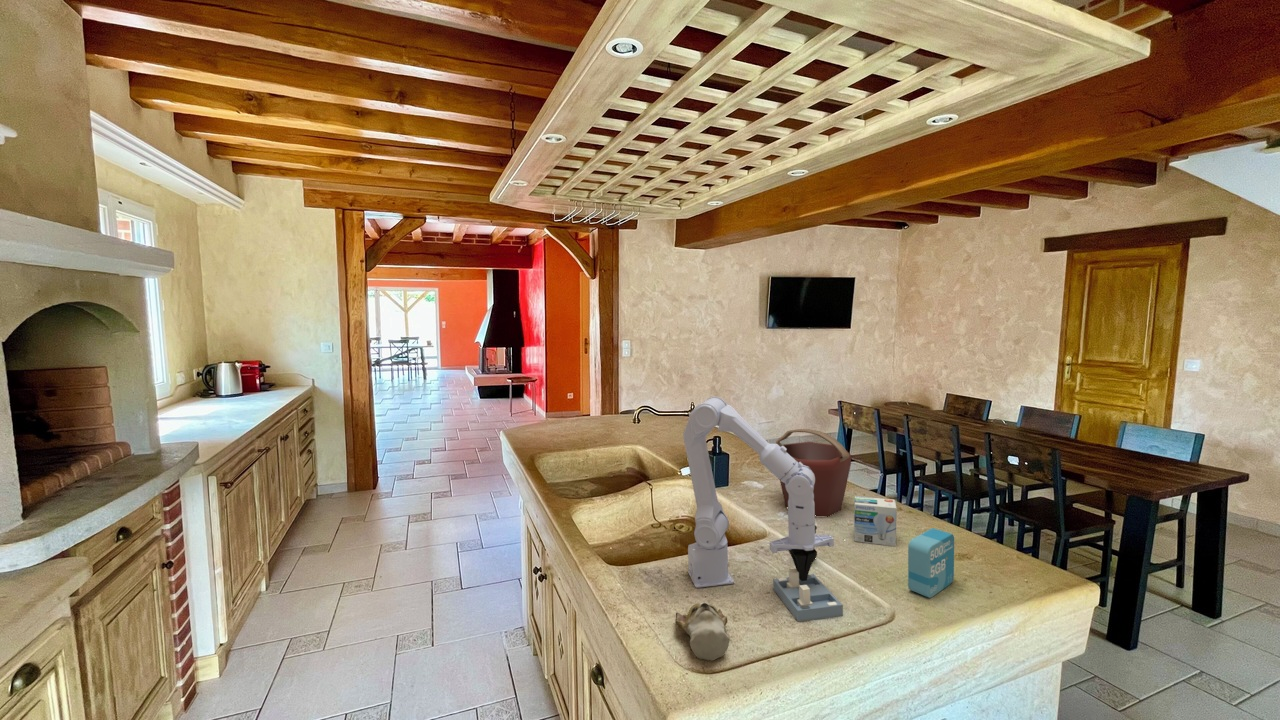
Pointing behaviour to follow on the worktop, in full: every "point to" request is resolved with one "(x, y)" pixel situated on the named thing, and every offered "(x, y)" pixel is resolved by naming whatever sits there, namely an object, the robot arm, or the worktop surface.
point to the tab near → (804, 596)
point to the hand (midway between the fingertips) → (802, 578)
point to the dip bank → (819, 596)
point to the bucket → (821, 470)
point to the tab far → (793, 579)
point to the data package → (931, 562)
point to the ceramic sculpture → (705, 630)
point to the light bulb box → (875, 520)
